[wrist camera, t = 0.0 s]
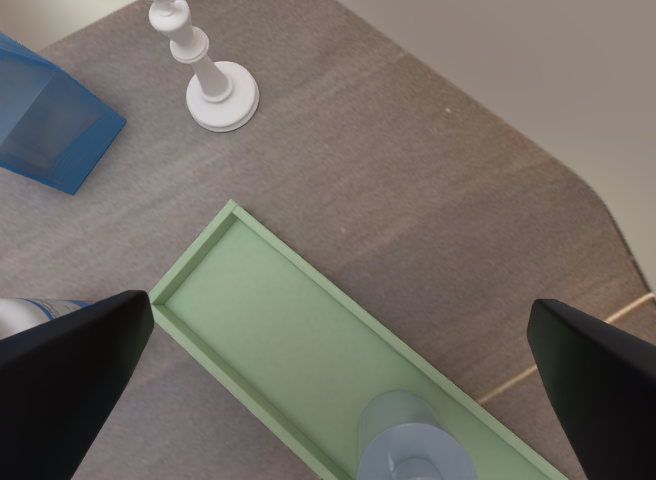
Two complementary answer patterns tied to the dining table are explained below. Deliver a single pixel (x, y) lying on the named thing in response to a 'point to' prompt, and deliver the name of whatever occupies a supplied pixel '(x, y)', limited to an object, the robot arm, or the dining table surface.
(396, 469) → the middle blue bottle
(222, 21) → the dining table surface
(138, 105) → the dining table surface
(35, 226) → the dining table surface
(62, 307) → the pill bottle
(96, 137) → the perfume bottle
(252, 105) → the chess piece
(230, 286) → the tray
